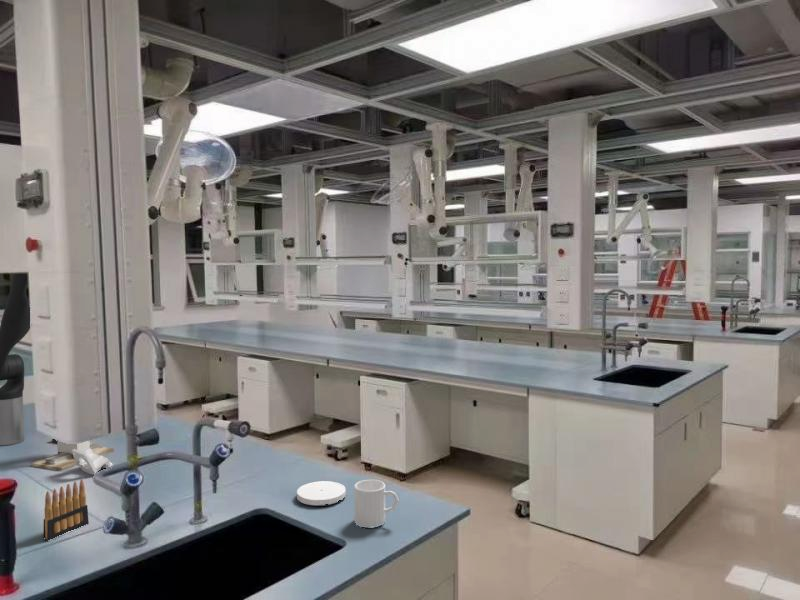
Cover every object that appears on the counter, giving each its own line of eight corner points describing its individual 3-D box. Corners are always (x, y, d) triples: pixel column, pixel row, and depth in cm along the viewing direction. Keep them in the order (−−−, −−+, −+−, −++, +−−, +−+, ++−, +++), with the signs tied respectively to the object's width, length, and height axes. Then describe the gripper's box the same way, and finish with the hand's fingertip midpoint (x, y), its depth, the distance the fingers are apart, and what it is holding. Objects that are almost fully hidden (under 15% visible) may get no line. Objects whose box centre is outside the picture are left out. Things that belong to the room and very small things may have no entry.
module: (57, 456, 196) (57, 433, 196) (70, 451, 201) (69, 429, 200) (77, 459, 193) (76, 436, 193) (89, 454, 198) (89, 432, 197)
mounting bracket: (80, 474, 188) (65, 448, 183) (97, 461, 192) (83, 436, 188) (99, 481, 181) (84, 455, 177) (117, 468, 186) (102, 442, 181)
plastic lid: (287, 505, 159) (287, 496, 159) (310, 487, 172) (310, 478, 172) (333, 511, 155) (333, 502, 155) (353, 492, 168) (353, 484, 168)
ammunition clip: (48, 541, 137) (46, 493, 137) (43, 540, 138) (41, 491, 137) (88, 523, 147) (87, 478, 146) (84, 522, 148) (82, 477, 147)
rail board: (30, 466, 189) (30, 458, 189) (84, 447, 209) (84, 440, 209) (62, 470, 185) (61, 463, 185) (113, 451, 205) (113, 444, 205)
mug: (393, 533, 141) (393, 494, 141) (349, 526, 145) (349, 488, 145) (403, 519, 149) (403, 483, 148) (361, 513, 153) (361, 477, 152)
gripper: (80, 381, 204) (81, 426, 205) (44, 389, 190) (45, 437, 191) (96, 383, 201) (97, 428, 202) (61, 391, 188) (62, 439, 189)
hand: (72, 432), depth 197 cm, fingers open, 8 cm apart
